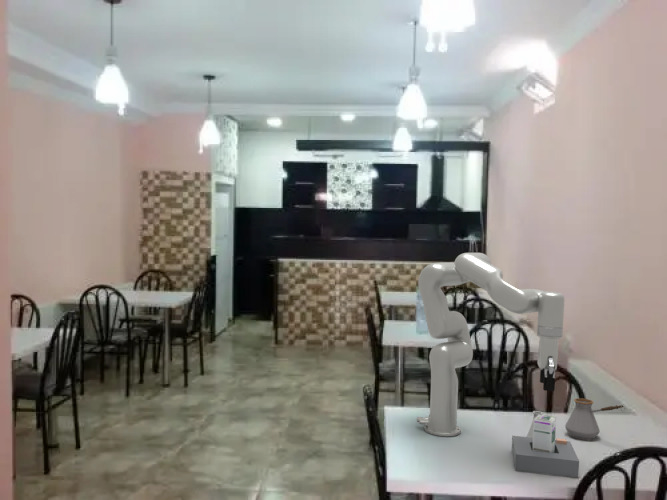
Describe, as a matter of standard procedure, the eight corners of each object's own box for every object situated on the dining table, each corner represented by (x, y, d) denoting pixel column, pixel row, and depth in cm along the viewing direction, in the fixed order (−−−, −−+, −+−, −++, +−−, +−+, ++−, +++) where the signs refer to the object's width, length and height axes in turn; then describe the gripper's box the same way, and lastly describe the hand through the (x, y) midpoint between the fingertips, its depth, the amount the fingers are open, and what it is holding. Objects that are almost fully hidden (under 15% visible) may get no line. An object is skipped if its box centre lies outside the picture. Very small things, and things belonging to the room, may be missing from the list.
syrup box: (550, 468, 197) (552, 421, 196) (530, 464, 200) (533, 418, 199) (554, 462, 201) (556, 417, 201) (535, 458, 204) (537, 413, 204)
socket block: (515, 470, 194) (516, 451, 193) (511, 450, 211) (512, 432, 211) (578, 477, 190) (579, 457, 190) (569, 456, 207) (570, 438, 207)
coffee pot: (557, 433, 231) (560, 392, 230) (578, 429, 237) (580, 389, 236) (611, 452, 213) (613, 408, 212) (632, 447, 219) (634, 403, 218)
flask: (548, 445, 218) (549, 416, 217) (526, 443, 219) (527, 414, 219) (546, 438, 225) (547, 410, 224) (524, 436, 226) (525, 408, 226)
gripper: (534, 326, 208) (531, 379, 209) (540, 335, 191) (537, 392, 192) (558, 328, 207) (556, 381, 207) (566, 337, 190) (563, 394, 190)
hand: (546, 386), depth 200 cm, fingers open, 9 cm apart
